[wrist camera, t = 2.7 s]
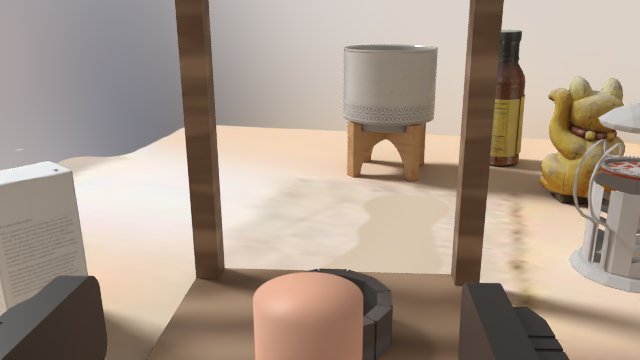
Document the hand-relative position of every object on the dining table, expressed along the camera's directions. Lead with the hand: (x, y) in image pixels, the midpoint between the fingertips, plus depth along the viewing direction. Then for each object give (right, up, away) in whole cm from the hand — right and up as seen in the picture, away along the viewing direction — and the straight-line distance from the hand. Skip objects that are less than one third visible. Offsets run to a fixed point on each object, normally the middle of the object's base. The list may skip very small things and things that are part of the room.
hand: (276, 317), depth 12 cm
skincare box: (-20, -8, +31) cm, 38 cm away
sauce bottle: (+29, +6, +75) cm, 80 cm away
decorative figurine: (+34, 0, +58) cm, 67 cm away
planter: (+11, +4, +71) cm, 72 cm away
